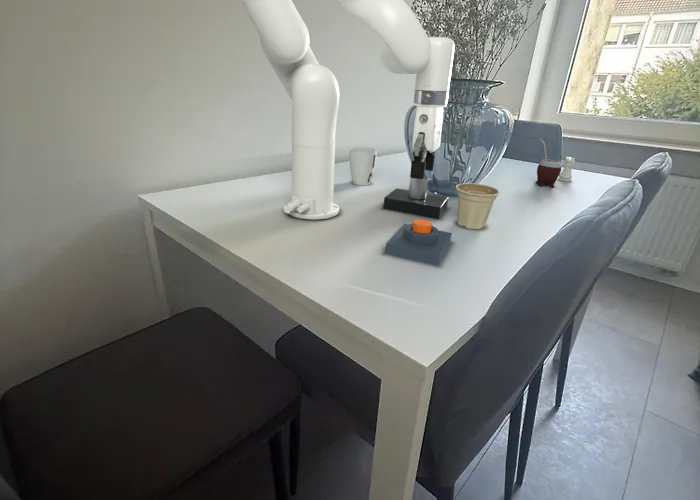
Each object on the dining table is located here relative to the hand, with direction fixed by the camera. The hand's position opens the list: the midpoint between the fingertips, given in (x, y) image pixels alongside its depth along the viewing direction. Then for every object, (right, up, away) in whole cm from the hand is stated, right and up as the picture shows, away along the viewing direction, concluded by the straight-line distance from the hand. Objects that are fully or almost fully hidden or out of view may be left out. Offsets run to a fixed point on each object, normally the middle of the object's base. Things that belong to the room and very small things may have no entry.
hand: (421, 174), depth 95 cm
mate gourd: (+47, +3, +34) cm, 58 cm away
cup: (-14, +2, +23) cm, 27 cm away
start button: (-4, -15, -21) cm, 26 cm away
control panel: (-1, -8, +4) cm, 9 cm away
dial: (-1, -5, +2) cm, 6 cm away
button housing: (-4, -18, -19) cm, 27 cm away
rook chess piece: (+58, +6, +42) cm, 72 cm away
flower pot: (+10, -13, -5) cm, 17 cm away
